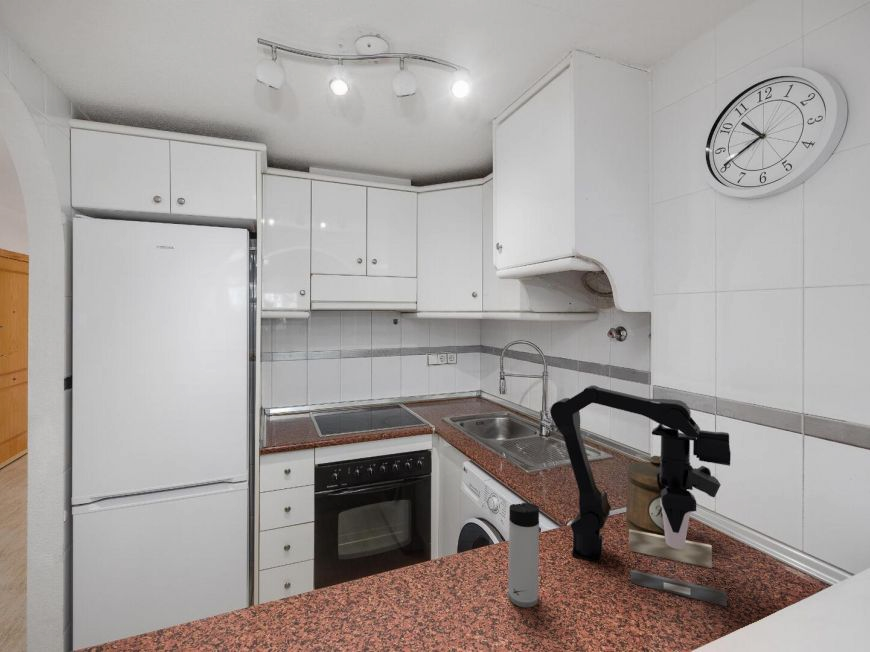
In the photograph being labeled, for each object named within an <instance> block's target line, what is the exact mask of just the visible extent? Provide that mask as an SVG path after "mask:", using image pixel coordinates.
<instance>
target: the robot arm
mask: <svg viewBox="0 0 870 652" xmlns="http://www.w3.org/2000/svg"><path fill="white" fill-rule="evenodd" d="M591 404H596V405H600V406H605V407H609V408H613V409H616V410H621V411H624V412H629V413H633V414H637V415H640V416H643V417H645V418H648V419H650V420H651V421H653V422H655V423H657V424H658V425H657V426H656V427H654V428H653V429H652V431H651V435H653V436H659V437H660V455H659V457H660V463H661V466H660V467H659V468H658V469H657V470H656V478H657V483H658V487H659V490H660V492H661V502H662V506H663V508H664V510H665V513H666V515H667V518H668V520H669V523H670V526H671V528H672V531H673V532H674V533H679V531H680V528H681V524H682V521H683V519H684V516H685V514H686V513H688V512H690V513H692V512H697V500H696V498H695V495H694V494H693V493H691V491H693V489H696V490H699V492H703V493H705V494H707V496H709V497H712V498H715V497H716V496H717V493H718V491H719V490H720V487H721V483H720V482H719V479H718V478H717V477H715V476H714V475H712V474H711V473H712V472H711V470H710V468H709V467H707V466H705V465H700V466H699V467H698V468H694V467H693V465H691V461H690V458H691V455H690V454H691V452H690V451H691V450H690V449H691V441H693V443H692V447H693V450H692V454H693V456H696V458H697V459H698V461H700V462H704V463H705V462H706V463H711V464H715V465H716V464H718V465H723V466H731V447H730V434H729V433H728V432H724V431H710V430H709V431H708V430H703V429H702V430H701V429H700V428H701V427H700V426H699V425H698V424H697V423H696V421H695V420H694V419H693V417H692V415H691V414H692V413H691V409H690V407H689V406H688V405H687V403H686V402H684V401H682V400H679V399H669V398H646V397H643V396H637V395H633V394H628V393H625V392H620V391H615V390H613V389H607V388H603V387H600V386H598V385H590V386H587V387H585V388H584V389H583V390H582V391H581V392H579V393H577V394H575V395H574V396H572V397H570V398H568V397H565V398H562V399H560V400H557V401H556V402H554V403H553V404H552V406H551V407H550V410H549V413H550V414H549V415H550V417H551V419H552V421H553V423H554V425H555V427H556V428H557V430H558V431H559V433H560V434H561V435H562V437H563V440H564V444H565V448H566V451H567V455H568V457H569V460H570V465H571V468H572V471H573V475H574V479H575V482H576V485H577V489H578V510H579V512H578V513H577V515H576V516H575V518H574V519H573V521H572V522H571V523H570V527H571V531H572V551H571V556H573V557H575V558H578V559H579V558H580V559H583V560H588V561H592V562H595V563H596V562H598V563H599V562H600V561H601V560H600V559H601V557H602V556H603V535H602V534H601V529H603V527H604V526H605V524H606V522H607V520H608V518H609V516H610V513H611V509H612V506H611V504H610V503H609V498H608V493H607V492H606V491H604V492H602V491H600V489H599V488H598V486H597V485H596V481H595V478H594V473H593V471H592V468H591V465H590V461H589V460H590V459H589V458H588V454H587V451H586V448H585V443H584V441H583V437H582V434H581V414H580V410H582V409H584V408H586V407H587V406H590V405H591ZM686 489H687V491H686Z"/></svg>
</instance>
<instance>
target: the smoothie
mask: <svg viewBox="0 0 870 652" xmlns="http://www.w3.org/2000/svg"><path fill="white" fill-rule="evenodd" d="M660 505H661V506H662V502H661V499H660ZM662 514H663V523H664V531H665V540H666V544H667V545H668V546H670V547H672V548H676V549H683V548H684V547H685V541H686V535H687V536H688V527H689V521H690V515H691V512H688V513H686V514H685V516H684V519H683V521H682V524H681V528H680V531H679V533H674V532H673V531H672V528H671V526H670V523H669V520H668V518H667V515H666V513H665V510H664V508H663V506H662Z"/></svg>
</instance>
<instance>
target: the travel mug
mask: <svg viewBox="0 0 870 652" xmlns="http://www.w3.org/2000/svg"><path fill="white" fill-rule="evenodd" d="M539 555H540V508H539V505H536V504H535V503H534V504H533V503H527V502H521V503H512V504H510V505H509V518H508V576H507V577H508V581H507V582H508V584H507V585H508V589H507V592H508V593H507V596H508V599H509V600H510V602H511V603H512V604H513V605H515V606H518V607H520V608H531V607H534V606H536V605H537V604H538V602H539V579H540V578H539V574H540V573H539V569H540V565H539V564H540V563H539V562H540V561H539V559H540V558H539V557H540V556H539Z"/></svg>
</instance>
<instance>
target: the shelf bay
mask: <svg viewBox="0 0 870 652" xmlns="http://www.w3.org/2000/svg"><path fill="white" fill-rule="evenodd" d="M628 551H629V552H633V553H634V552H635V553H639V554H642V555H643V554H644V555H648V556H653V557H658V558H663V559H666V560H667V559H668V560H672V561H675V562H681V563H686V564H689V565H695V566H699V567H704V568H709V569H712V568H713V566H712V563H713V561H712V560H713V546H712V545H711V544H708V543H707V544H706V543H702V542H698V541H691V540H688V539H687V540H686V541H685V547H684V548H683V549H676V548H672V547H670V546H668V545H667V544H666V540H665V536H662V535H657V534H651V533H646V532H641V531H636V530H631V529H629V533H628ZM633 583H634V584H633ZM630 584H633V585H637V586H641V585H642V586H641V587H647V588H649V589H654V588H655V589H654V590H658V591H663V592H667V593H671V594H674V595H678V596H684V597H687V598H691V599H696V600H699V601H704V602H708V603H712V604H716V605H721V606H724V607H727V605H728V603H727V601H728V600H727V599H728V598H727V597H728V594H727V591H724V590H721V589H717V588H713V587H708V586H704V585H699V584H694V583H692V582H691V583H690V582H686V581H683V580H677V579H673V578H669V577H665V576H660V575H656V574H652V573H647V572H645V571H644V572H643V571H638V570H635V569H630Z"/></svg>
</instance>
